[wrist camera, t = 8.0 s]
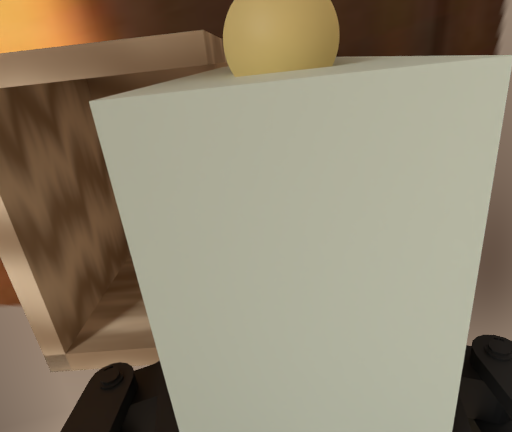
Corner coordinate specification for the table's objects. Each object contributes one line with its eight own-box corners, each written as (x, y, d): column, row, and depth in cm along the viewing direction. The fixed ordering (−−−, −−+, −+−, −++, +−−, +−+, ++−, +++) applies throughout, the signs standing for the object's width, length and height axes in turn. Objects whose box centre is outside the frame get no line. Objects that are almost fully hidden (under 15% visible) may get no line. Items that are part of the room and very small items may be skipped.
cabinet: (59, 17, 31) (-122, -20, 16) (308, -14, 30) (356, -81, 15) (127, 256, 40) (51, 372, 25) (318, 240, 39) (353, 350, 24)
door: (219, 37, 16) (47, -48, 3) (334, 24, 16) (674, -130, 3) (260, 355, 23) (260, 726, 10) (339, 349, 23) (441, 723, 10)
